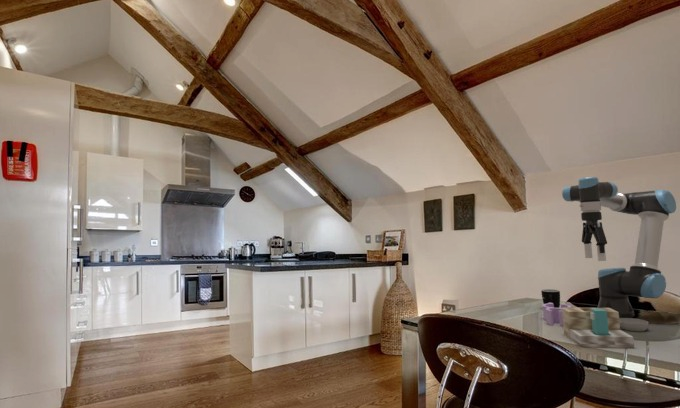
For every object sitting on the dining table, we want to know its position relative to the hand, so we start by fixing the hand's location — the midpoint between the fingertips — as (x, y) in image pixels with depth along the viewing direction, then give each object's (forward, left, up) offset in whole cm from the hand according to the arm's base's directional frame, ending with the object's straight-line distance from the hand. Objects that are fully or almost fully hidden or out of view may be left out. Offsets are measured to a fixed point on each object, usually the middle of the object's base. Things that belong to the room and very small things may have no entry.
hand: (595, 259), depth 166 cm
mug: (+8, -41, -31) cm, 52 cm away
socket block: (+8, +16, -31) cm, 36 cm away
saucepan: (-10, -2, -31) cm, 33 cm away
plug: (+8, +20, -30) cm, 37 cm away
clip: (+13, -15, -31) cm, 37 cm away
